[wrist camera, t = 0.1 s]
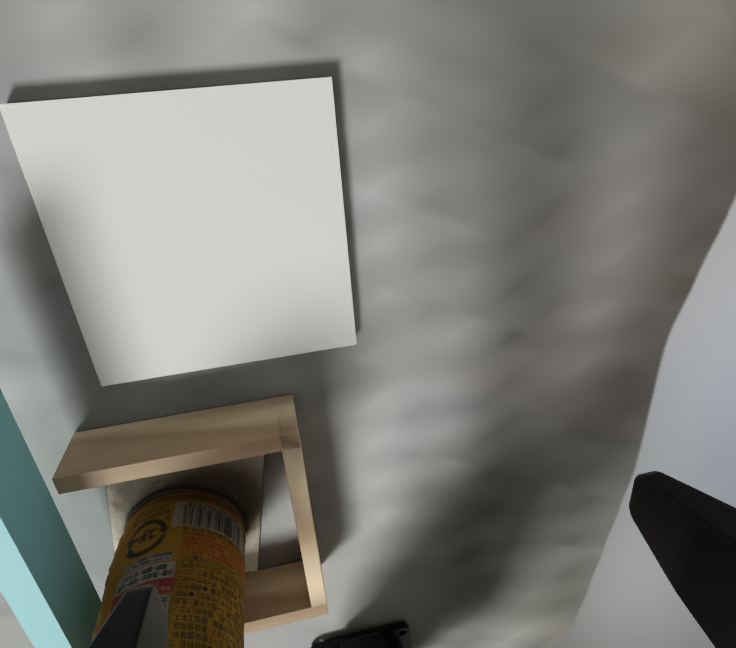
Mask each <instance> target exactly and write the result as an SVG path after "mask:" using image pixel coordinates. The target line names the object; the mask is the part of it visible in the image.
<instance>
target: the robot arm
mask: <svg viewBox="0 0 736 648" xmlns="http://www.w3.org/2000/svg"><path fill="white" fill-rule="evenodd" d="M629 509H630V513H631V516H632V518H633V520H634V522H635V523H636V525H637V527H638V528H639V530H640V532H641V534H642V535H643V537H644V539H645V540H646V542H647V544H648V545H649V547H650V549H651V551H652V552H653V554H654V556H655V558H656V559H657V561H658V562H659V564H660V566H661V568H662V569H663V571H664V573H665V574H666V576H667V578H668V580H669V581H670V583H671V584H672V586H673V588H674V589H675V591H676V592H677V594H678V595H679V597H680V598H681V600H682V601H683V603H684V604H685V605H686V607H687V608H688V610H689V611H690V613H691V614H692V615H693V617H694V618H695V620H696V621H697V622H698V624H699V625H700V627H701V628H702V629H703V631H704V632H705V633H706V635H707V636H708V638H709V639H710V641H711V642H712V643H713V645H714V646H715V648H736V508H734V507H732V506H730V505H728V504H726V503H723V502H722V501H720V500H718V499H716V498H714V497H712V496H709V495H707V494H705V493H703V492H701V491H699V490H697V489H695V488H693V487H691V486H689V485H686V484H684V483H682V482H680V481H678V480H676V479H674V478H672V477H670V476H668V475H665V474H663V473H661V472H657V471H652V472H648V473H644V474H639V475H638V476H637V477H636V478H635V480H634V485H633V489H632V494H631V499H630V503H629ZM167 647H168V618H167V614H166V611H165V608H164V606H163V603H162V601H161V598H160V595H159V593H158V590H157V588H156V587H155V586H154V585H153V584H148V585H143V586H139V587H134V588H131V589H129V590H128V591H127V592H126V593H125V594H124V595H123V597H122V598H121V600H120V601H119V602H118V604H117V605H116V607H115V608H114V610H113V611H112V613H111V614H110V616H109V617H108V619H107V620H106V621H105V623H104V624H103V626H102V627H101V629H100V630H99V632H98V633H97V635H96V636H95V637H94V639H93V640H92V642H91V643H90V645H89V646H88V648H167ZM311 648H411V641H410V629H409V626H408V624H407V623H406V622H400V623H396V624H392V625H388V626H384V627H380V628H376V629H372V630H368V631H365V632H361V633H357V634H353V635H349V636H345V637H341V638H337V639H333V640H329V641H325V642H321V643H317V644H314V645H313V646H312V647H311Z"/></svg>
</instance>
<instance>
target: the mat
mask: <svg viewBox="0 0 736 648" xmlns="http://www.w3.org/2000/svg"><path fill="white" fill-rule="evenodd" d="M0 111H1V113H2V116H3V119H4V122H5V124H6V127H7V130H8V133H9V135H10V138H11V141H12V143H13V146H14V149H15V152H16V154H17V157H18V160H19V163H20V165H21V168H22V171H23V173H24V176H25V179H26V182H27V184H28V187H29V190H30V193H31V195H32V198H33V201H34V204H35V206H36V209H37V212H38V214H39V217H40V220H41V223H42V225H43V228H44V231H45V234H46V236H47V239H48V242H49V245H50V247H51V250H52V253H53V255H54V258H55V261H56V264H57V266H58V269H59V272H60V275H61V277H62V280H63V283H64V286H65V288H66V291H67V294H68V296H69V299H70V302H71V305H72V307H73V310H74V313H75V316H76V318H77V321H78V324H79V326H80V329H81V332H82V335H83V337H84V340H85V343H86V346H87V348H88V351H89V354H90V357H91V359H92V362H93V365H94V367H95V370H96V373H97V376H98V378H99V381H100V384H101V387H102V386H108V385H114V384H120V383H126V382H132V381H138V380H144V379H150V378H156V377H162V376H168V375H175V374H181V373H187V372H193V371H199V370H205V369H211V368H217V367H223V366H229V365H235V364H241V363H247V362H254V361H260V360H266V359H272V358H278V357H284V356H290V355H296V354H302V353H308V352H314V351H320V350H326V349H333V348H339V347H345V346H351V345H357V343H356V332H355V321H354V311H353V300H352V289H351V278H350V267H349V257H348V246H347V235H346V224H345V214H344V203H343V192H342V181H341V171H340V160H339V149H338V138H337V127H336V117H335V106H334V95H333V84H332V77H320V78H308V79H296V80H284V81H272V82H260V83H248V84H236V85H224V86H212V87H200V88H188V89H176V90H164V91H152V92H140V93H128V94H116V95H104V96H91V97H79V98H67V99H55V100H43V101H31V102H19V103H7V104H0Z"/></svg>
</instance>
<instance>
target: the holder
mask: <svg viewBox="0 0 736 648" xmlns="http://www.w3.org/2000/svg"><path fill="white" fill-rule="evenodd" d="M281 451H282V453H283V459H284V464H285V469H286V475H287V480H288V485H289V490H290V496H291V501H292V506H293V512H294V517H295V522H296V528H297V533H298V538H299V544H300V549H301V554H302V559H303V560H301V561H297V562H293V563H288V564H284V565H279V566H275V567H271V568H266V569H262V570H258V571H253V572H248V573H245V594H244V597H245V600H244V634H246V633H250V632H254V631H258V630H262V629H266V628H270V627H274V626H278V625H283V624H287V623H291V622H295V621H299V620H303V619H307V618H311V617H315V616H319V615H324V614H328V608H327V602H326V595H325V588H324V581H323V575H322V568H321V562H320V556H319V549H318V543H317V537H316V531H315V525H314V519H313V513H312V507H311V501H310V495H309V489H308V483H307V477H306V471H305V465H304V459H303V453H302V447H301V441H300V435H299V429H298V423H297V417H296V411H295V405H294V399H293V394H291V395H286V396H280V397H274V398H268V399H263V400H257V401H251V402H246V403H240V404H234V405H229V406H223V407H217V408H212V409H206V410H200V411H195V412H189V413H183V414H178V415H172V416H166V417H161V418H155V419H149V420H144V421H138V422H132V423H127V424H121V425H115V426H110V427H104V428H98V429H93V430H87V431H81V432H75V433H74V435H73V437H72V439H71V441H70V443H69V445H68V447H67V449H66V451H65V453H64V455H63V457H62V460H61V462H60V464H59V466H58V468H57V470H56V472H55V474H54V476H53V478H52V480H53V483H54V485H55V487H56V489H57V491H58V493H59V494H62V493H68V492H73V491H78V490H83V489H88V488H94V487H99V486H104V485H109V484H114V483H120V482H125V481H130V480H135V479H140V478H146V477H151V476H156V475H161V474H166V473H172V472H177V471H182V470H187V469H192V468H198V467H203V466H208V465H213V464H218V463H224V462H229V461H234V460H239V459H244V458H250V457H255V456H260V455H265V454H270V453H276V452H281Z"/></svg>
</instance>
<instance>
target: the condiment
mask: <svg viewBox="0 0 736 648" xmlns="http://www.w3.org/2000/svg"><path fill="white" fill-rule="evenodd" d="M263 469H264V455H260V456H255V457H250V458H244V459H239V460H234V461H229V462H224V463H218V464H213V465H208V466H203V467H198V468H192V469H187V470H182V471H177V472H172V473H166V474H161V475H156V476H151V477H146V478H140V479H135V480H130V481H125V482H120V483H114V484H109V485H107V492H108V503H109V510H110V519H111V526H112V535H113V544H114V553H115V554H114V559H113V562H112V564H111V566H110V568H109V574H108V576H107V580H106V584H105V590H104V595H103V598H102V604H101V607H100V611H99V613H98V616H97V623H96V627H95V629H94V631H93V633H92V640H93V639H94V637H95V636H96V635H97V633H98V632H99V630H100V629H101V627H102V626H103V624H104V623H105V621H106V620H107V619H108V617H109V616H110V614H111V613H112V611H113V610H114V608H115V607H116V605H117V604H118V602H119V601H120V600H121V598H122V597H123V595H124V594H125V593H126V592H127V591H128V590H129V589H131V588H134V587H139V586H143V585H148V584H153V585H154V586H155V587H156V588H157V590H158V593H159V595H160V598H161V601H162V603H163V606H164V608H165V611H166V614H167V618H168V647H167V648H244V600H245V597H244V594H245V572H253V571H258V554H259V536H260V519H261V504H262V503H261V501H262V485H263ZM156 482H160V483H159V484H158V485H157V486H154V484H155V483H156ZM150 488H154V490H152V491H149V489H150ZM235 496H237V498H235ZM91 642H92V641H91Z"/></svg>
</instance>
